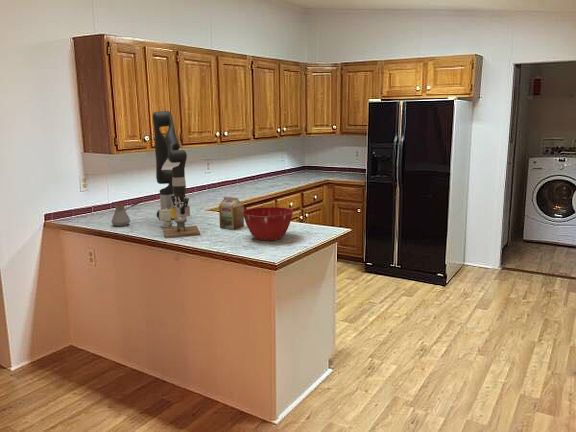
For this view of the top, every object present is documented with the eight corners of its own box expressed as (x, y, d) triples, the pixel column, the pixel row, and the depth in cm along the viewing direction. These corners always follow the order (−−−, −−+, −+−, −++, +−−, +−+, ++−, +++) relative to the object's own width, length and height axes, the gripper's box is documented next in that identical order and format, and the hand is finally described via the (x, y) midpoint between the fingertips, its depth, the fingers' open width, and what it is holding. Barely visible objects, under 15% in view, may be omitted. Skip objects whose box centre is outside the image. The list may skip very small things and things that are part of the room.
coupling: (169, 222, 297) (168, 207, 295) (186, 219, 304) (185, 204, 302) (174, 224, 292) (173, 208, 290) (192, 221, 298) (191, 206, 296)
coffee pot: (113, 228, 314) (111, 204, 311) (110, 224, 323) (108, 201, 320) (148, 224, 324) (146, 201, 321) (143, 220, 334) (142, 198, 331)
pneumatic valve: (160, 225, 319) (159, 207, 316) (178, 226, 316) (176, 207, 314) (156, 227, 313) (155, 208, 311) (174, 228, 311) (173, 209, 309)
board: (163, 230, 306) (162, 220, 304) (196, 228, 311) (196, 217, 310) (165, 238, 287) (164, 227, 286) (200, 235, 292) (199, 224, 291)
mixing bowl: (243, 232, 298) (242, 206, 295) (291, 231, 300) (291, 205, 297) (242, 245, 271) (241, 216, 267) (295, 243, 272) (295, 215, 269)
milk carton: (244, 226, 313) (243, 196, 309) (233, 230, 304) (232, 199, 300) (230, 225, 318) (229, 195, 314) (219, 228, 309) (218, 197, 306)
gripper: (166, 184, 295) (168, 213, 298) (181, 186, 286) (183, 216, 290) (176, 183, 300) (178, 211, 304) (192, 184, 292) (193, 214, 295)
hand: (180, 213), depth 297 cm, fingers closed on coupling, 3 cm apart
